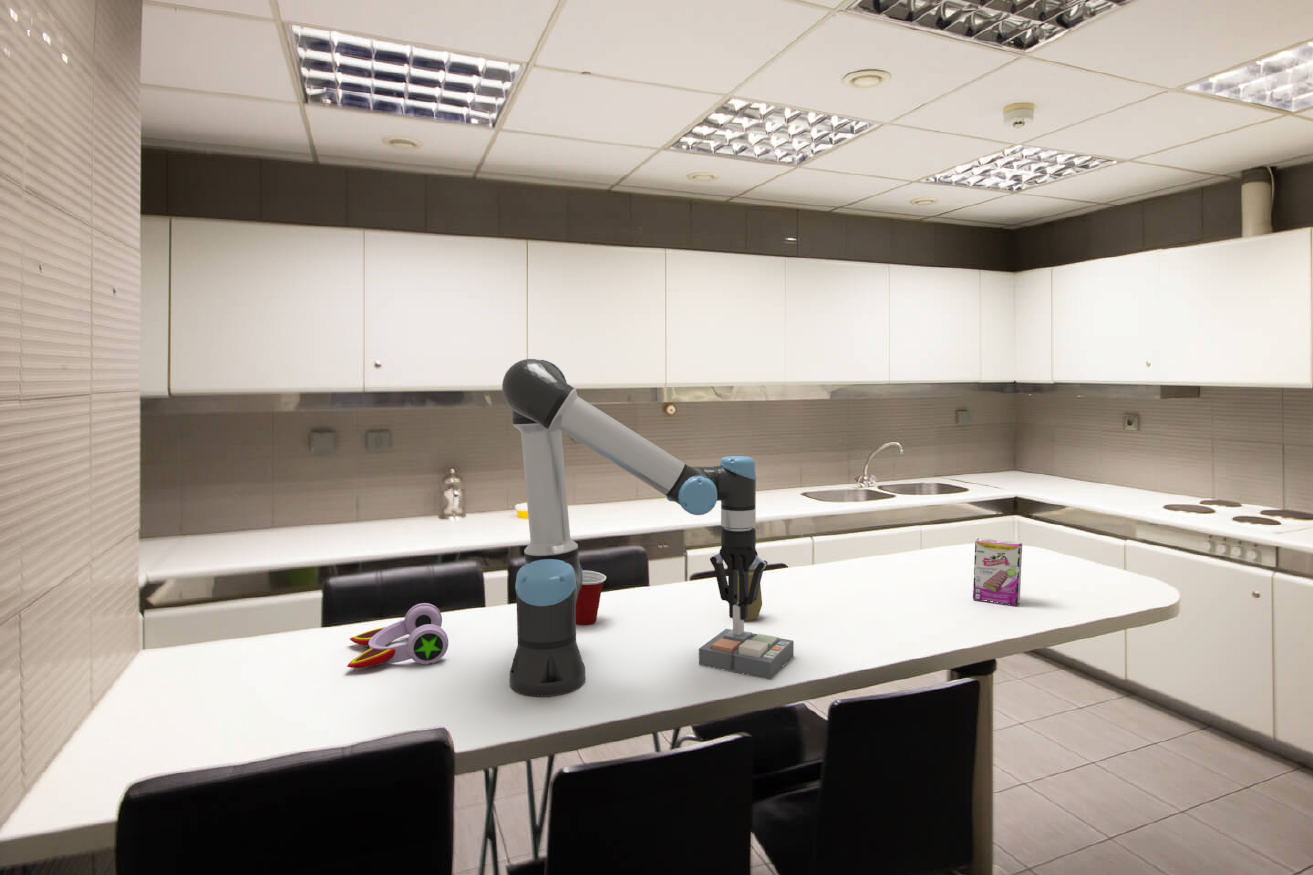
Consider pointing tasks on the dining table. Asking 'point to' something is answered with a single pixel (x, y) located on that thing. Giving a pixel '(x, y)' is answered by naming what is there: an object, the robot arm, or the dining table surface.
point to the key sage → (766, 639)
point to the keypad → (747, 658)
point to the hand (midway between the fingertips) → (738, 632)
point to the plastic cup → (589, 598)
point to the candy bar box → (997, 571)
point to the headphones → (421, 645)
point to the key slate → (738, 636)
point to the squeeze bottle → (756, 606)
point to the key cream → (753, 648)
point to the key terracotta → (726, 645)
